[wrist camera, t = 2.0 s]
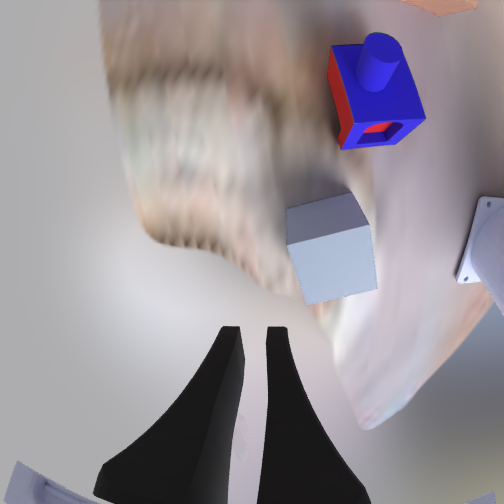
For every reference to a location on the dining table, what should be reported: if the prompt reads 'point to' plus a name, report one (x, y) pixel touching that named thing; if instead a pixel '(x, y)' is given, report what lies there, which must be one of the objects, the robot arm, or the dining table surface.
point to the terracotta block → (444, 5)
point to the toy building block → (373, 92)
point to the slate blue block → (331, 248)
